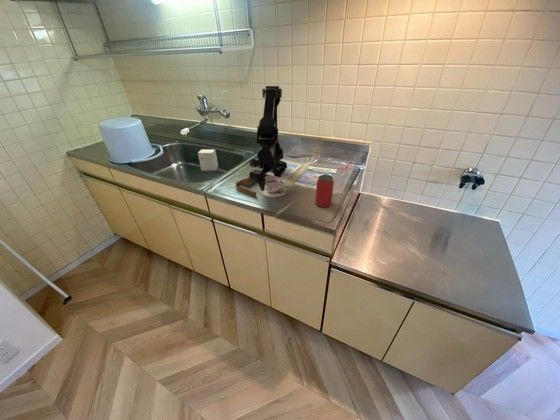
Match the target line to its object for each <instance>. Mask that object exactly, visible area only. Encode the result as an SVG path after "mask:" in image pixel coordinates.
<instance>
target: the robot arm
mask: <svg viewBox="0 0 560 420" xmlns="http://www.w3.org/2000/svg"><path fill="white" fill-rule="evenodd" d="M261 94H262V99H264V102H263V103H264V104H263V114H262V115H263V116H262V117H261V119H259V123H258V126H257V131H256V144H257V145H258V144H259V145H260V147H259V150H258V152H257V155H256V156H257V158H256V159H255V158H252V159H249V165H250V167H251V168H255V169H254V170H251V171H250V172H249V173H248V176H249V177H250V178H251V179H254V180H256V181H255V182H257V183H256V184H257V185H258V186H259V190H260V189H261V191H264V190H265V189H266V187H265V186H266V184H265V182H266V179H265V174H266V173H267V174H269V173H271V172H272V173H273V174H274V175H273V176H277V177H280V178H281V177H282V175H283V174H284V172H285V171H286V170H287V168H288V164H287V162H286V161H283V159H284V150H283V148H282V147H281V146H282V144H281V141H280V140H279V129H278V107H279V104H280V103H281V100H282V99H281V98H282V97H283V88H280V85H266V86H265V88H262V89H261ZM256 168H259V169H256ZM260 169H261V170H260ZM281 179H282V178H281Z"/></svg>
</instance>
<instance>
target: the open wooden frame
mask: <svg viewBox="0 0 560 420" xmlns="http://www.w3.org/2000/svg"><path fill="white" fill-rule="evenodd" d="M267 176H273V175H272V174H269V173H266V174H265V177H267ZM255 182H257V181H256V180H254V179H251V178H250V177H249V175H247V176H245V177H243V178H241V179H238V180H237V181H235V190H237V191H238V192H241V193H243V194H245V195H248V196H250V197H251V198H257V191H255V190H253V189H250V188H249V187H248V186H250V185H252V184H254V183H255ZM281 182H283V181H282V180H281Z"/></svg>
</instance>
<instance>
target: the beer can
mask: <svg viewBox="0 0 560 420" xmlns="http://www.w3.org/2000/svg"><path fill="white" fill-rule="evenodd" d="M318 176H319V177H318V178H317V180H316V187H315V188H316V190H315V204H316V205H317V206H318V207H320V208H327V207H330V206H331V205H332V201H333V191H334V186H335V185H334V184H335V183H334V180H333V179H334V177H332V175H328V174H322V175H318Z"/></svg>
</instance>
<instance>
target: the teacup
mask: <svg viewBox="0 0 560 420" xmlns="http://www.w3.org/2000/svg"><path fill="white" fill-rule="evenodd" d="M265 179H266V182H265V188H266V190H265V189H264V191H261V189H260V188H259V193H260V195H262V196H264V197H267V198H278V197H282V196H284V195H285V194H286V191H287V190H286V188H284V190H283V192H282V193H277V192H278V190H280V189H282V187H283V185H284V184H283V183H284V182H283V181H282V182H281V180H282V178H280V177H277V176H274V175H272V176H267V177H265ZM280 184H281V186H279V185H280Z"/></svg>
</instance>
